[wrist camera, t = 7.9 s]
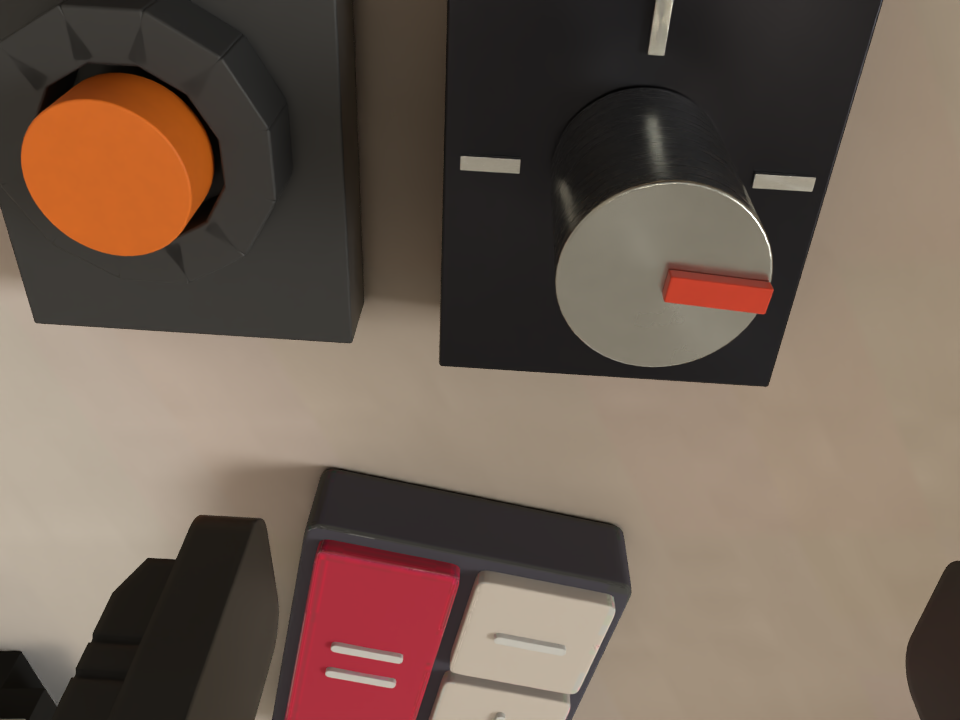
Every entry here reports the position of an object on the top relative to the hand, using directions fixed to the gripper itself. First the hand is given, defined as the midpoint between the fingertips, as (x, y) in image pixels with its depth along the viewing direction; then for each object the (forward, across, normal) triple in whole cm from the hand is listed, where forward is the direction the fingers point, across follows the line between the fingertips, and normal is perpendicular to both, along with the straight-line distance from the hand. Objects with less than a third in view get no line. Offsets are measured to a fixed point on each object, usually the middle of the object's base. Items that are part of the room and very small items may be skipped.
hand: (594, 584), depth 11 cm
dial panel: (+15, -2, 0) cm, 15 cm away
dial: (+12, -2, 0) cm, 12 cm away
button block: (+15, +10, 0) cm, 18 cm away
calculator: (+15, +3, +21) cm, 26 cm away
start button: (+12, +10, 0) cm, 15 cm away
